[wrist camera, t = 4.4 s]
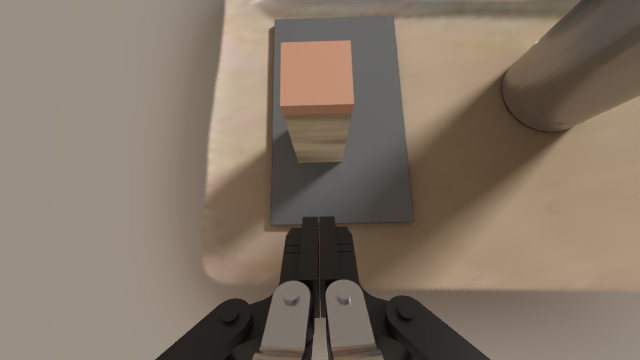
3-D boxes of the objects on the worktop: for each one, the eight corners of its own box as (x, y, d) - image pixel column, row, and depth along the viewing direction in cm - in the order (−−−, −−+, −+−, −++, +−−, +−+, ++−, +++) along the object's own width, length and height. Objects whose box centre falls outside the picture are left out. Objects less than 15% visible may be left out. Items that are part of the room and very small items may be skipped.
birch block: (298, 122, 29) (281, 42, 18) (340, 121, 29) (350, 40, 18) (298, 162, 28) (280, 106, 17) (342, 161, 28) (354, 104, 17)
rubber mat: (275, 23, 33) (274, 19, 32) (392, 19, 33) (393, 15, 32) (272, 225, 28) (270, 224, 27) (411, 221, 27) (413, 221, 27)
